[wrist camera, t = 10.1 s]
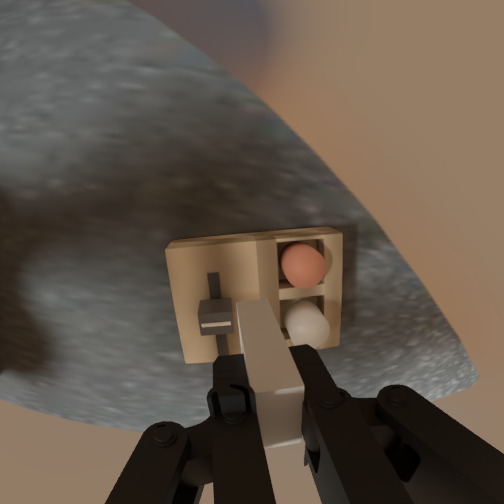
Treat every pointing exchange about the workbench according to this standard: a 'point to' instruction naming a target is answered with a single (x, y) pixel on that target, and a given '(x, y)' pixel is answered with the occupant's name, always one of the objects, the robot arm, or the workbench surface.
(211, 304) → the fader knob
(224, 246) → the console
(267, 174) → the workbench surface
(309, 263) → the button
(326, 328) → the button
